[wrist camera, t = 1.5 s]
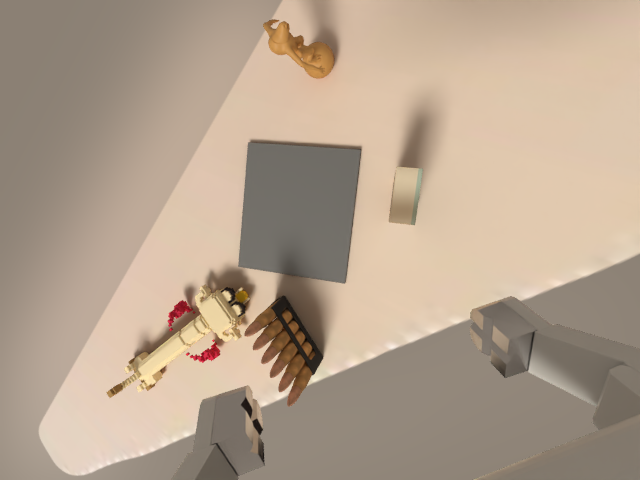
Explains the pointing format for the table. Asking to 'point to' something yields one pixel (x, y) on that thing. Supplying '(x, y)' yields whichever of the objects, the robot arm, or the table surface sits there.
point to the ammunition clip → (286, 346)
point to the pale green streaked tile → (405, 195)
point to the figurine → (300, 50)
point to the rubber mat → (299, 210)
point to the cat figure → (190, 335)
